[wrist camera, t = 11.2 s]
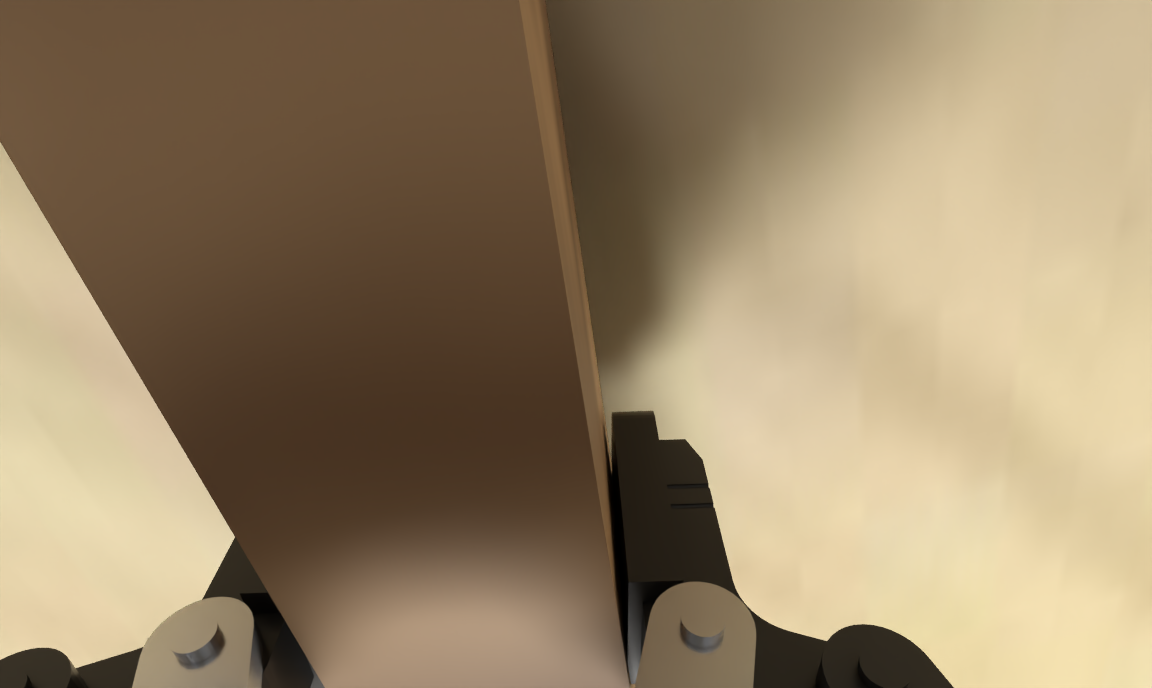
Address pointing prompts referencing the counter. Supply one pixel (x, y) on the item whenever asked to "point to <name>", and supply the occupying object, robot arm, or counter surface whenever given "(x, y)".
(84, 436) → the counter surface
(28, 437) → the counter surface
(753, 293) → the counter surface
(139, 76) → the bar
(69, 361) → the counter surface
